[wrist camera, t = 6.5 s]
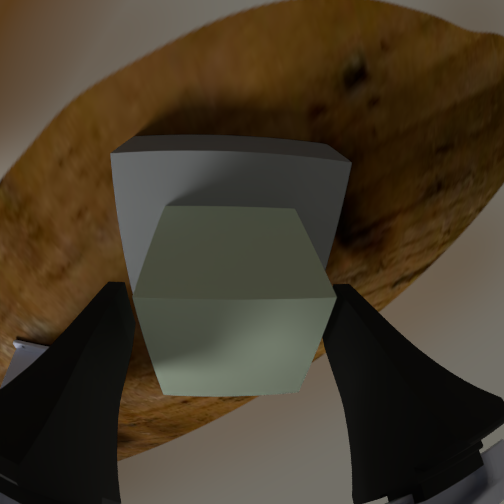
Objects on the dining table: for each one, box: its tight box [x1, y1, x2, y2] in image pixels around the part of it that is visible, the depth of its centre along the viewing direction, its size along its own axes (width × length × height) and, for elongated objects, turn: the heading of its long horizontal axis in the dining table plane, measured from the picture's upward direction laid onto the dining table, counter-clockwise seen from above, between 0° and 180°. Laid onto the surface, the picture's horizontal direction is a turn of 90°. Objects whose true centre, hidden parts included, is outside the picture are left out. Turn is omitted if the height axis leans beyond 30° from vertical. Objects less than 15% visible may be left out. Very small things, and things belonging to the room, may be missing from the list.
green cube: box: [132, 206, 337, 396], centre depth 10 cm, size 5×5×5 cm
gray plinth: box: [111, 135, 352, 294], centre depth 13 cm, size 9×9×3 cm
